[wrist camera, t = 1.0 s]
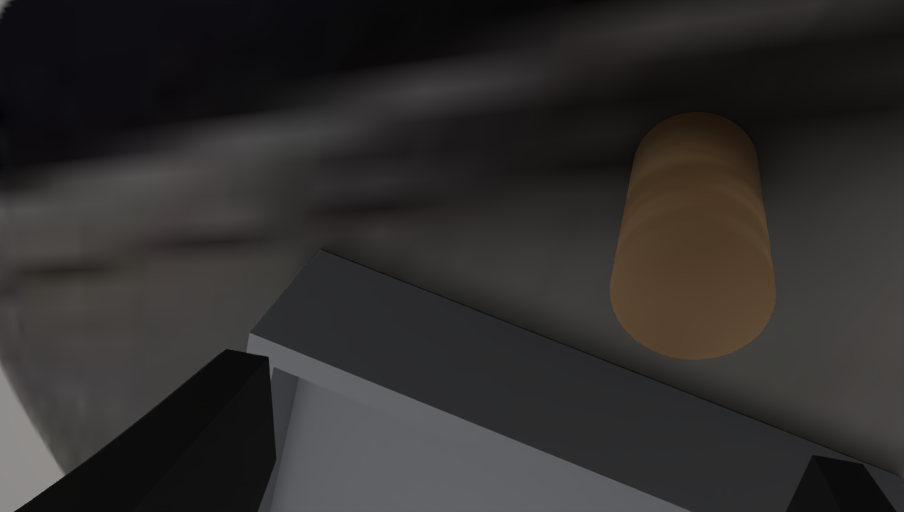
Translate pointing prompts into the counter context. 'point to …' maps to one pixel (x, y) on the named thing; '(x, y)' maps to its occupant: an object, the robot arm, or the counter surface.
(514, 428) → the box
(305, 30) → the counter surface
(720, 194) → the peg
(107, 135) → the counter surface
